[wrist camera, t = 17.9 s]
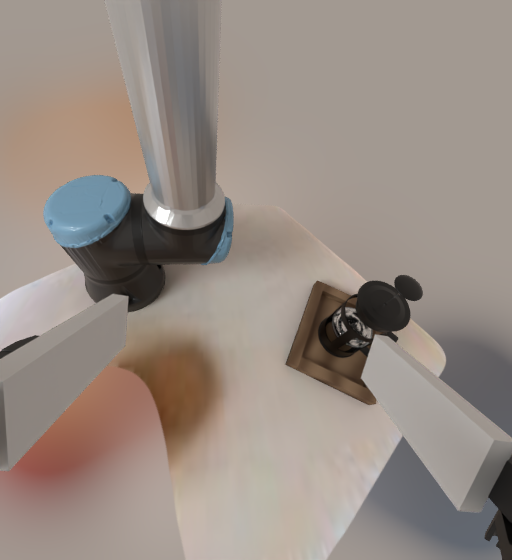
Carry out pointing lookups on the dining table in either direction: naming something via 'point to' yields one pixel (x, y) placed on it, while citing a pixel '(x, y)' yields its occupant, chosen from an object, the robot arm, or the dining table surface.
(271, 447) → the dining table surface
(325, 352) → the walnut tray
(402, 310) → the french press
